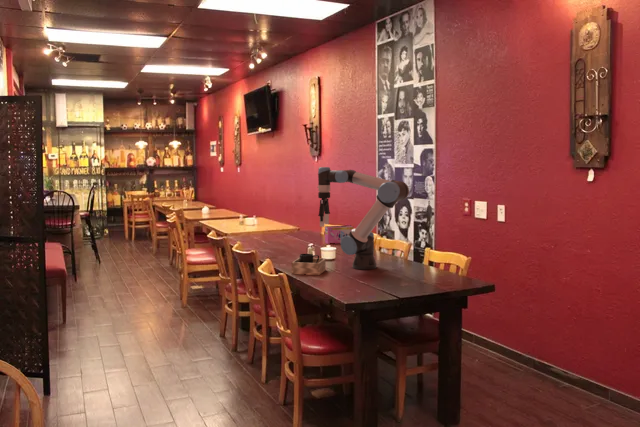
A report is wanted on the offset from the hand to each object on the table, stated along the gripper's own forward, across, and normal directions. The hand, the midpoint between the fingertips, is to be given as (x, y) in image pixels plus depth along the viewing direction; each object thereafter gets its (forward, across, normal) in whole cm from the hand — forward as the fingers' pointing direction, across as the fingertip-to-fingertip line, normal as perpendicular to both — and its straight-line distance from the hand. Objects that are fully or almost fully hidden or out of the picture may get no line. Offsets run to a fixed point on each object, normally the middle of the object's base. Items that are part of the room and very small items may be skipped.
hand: (324, 225), depth 372 cm
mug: (+26, +16, -6) cm, 31 cm away
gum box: (+27, -109, -12) cm, 113 cm away
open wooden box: (+27, +17, -6) cm, 32 cm away
